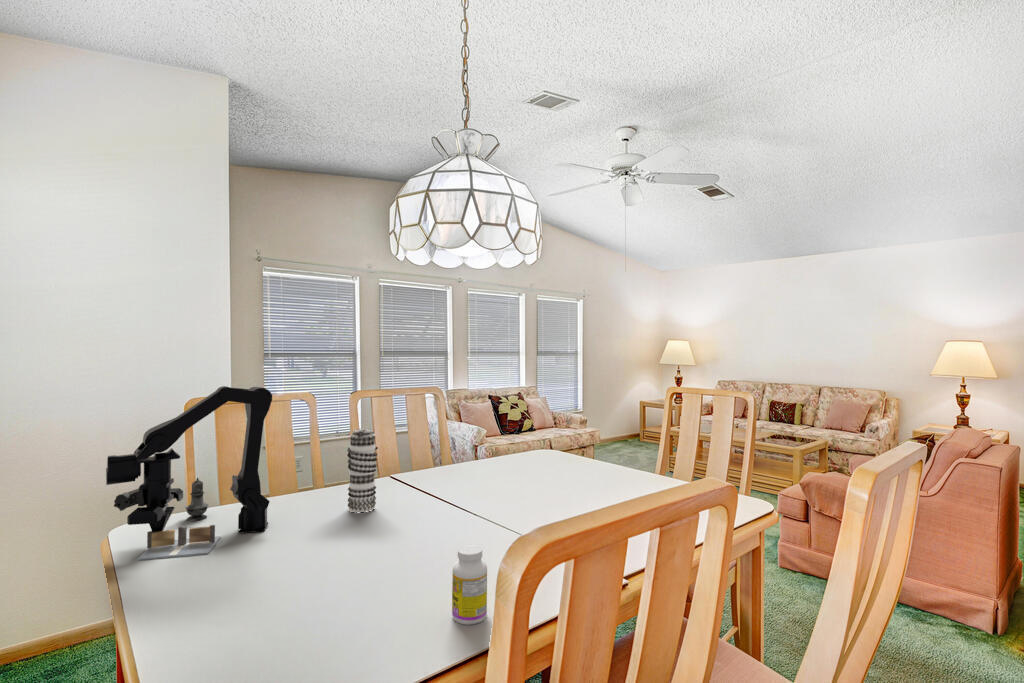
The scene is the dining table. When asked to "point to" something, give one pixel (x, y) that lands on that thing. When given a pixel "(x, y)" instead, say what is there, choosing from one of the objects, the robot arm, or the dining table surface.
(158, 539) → the fence panel
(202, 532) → the fixed fence
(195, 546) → the card
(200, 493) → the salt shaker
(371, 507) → the decorative candle
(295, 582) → the dining table surface
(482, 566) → the supplement bottle
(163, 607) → the dining table surface
